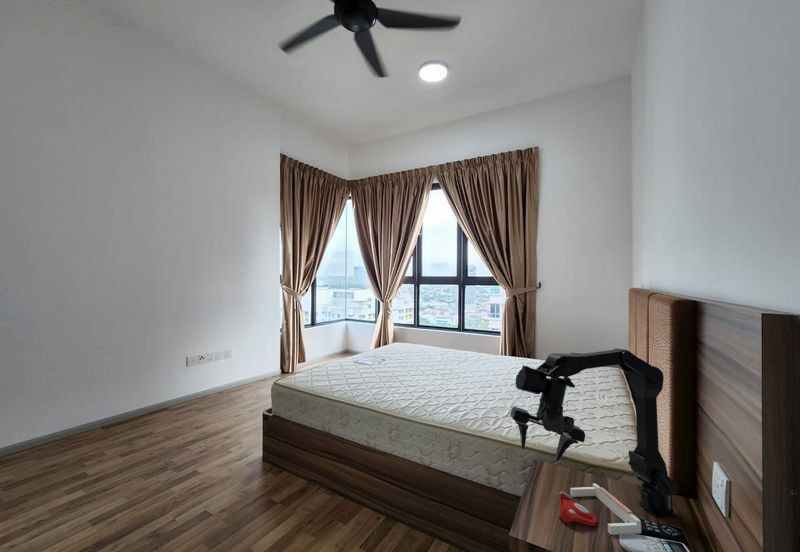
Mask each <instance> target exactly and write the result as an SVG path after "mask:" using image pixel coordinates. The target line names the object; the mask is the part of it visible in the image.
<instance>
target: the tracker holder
mask: <svg viewBox="0 0 800 552" xmlns="http://www.w3.org/2000/svg"><path fill="white" fill-rule="evenodd" d="M558 494H559V495H560V496H559V513H558V514H559V515H558V517H559V518H560V519H561V520H562V521H563V522H564V523H565V524H568V523H570V522H578V523H581V524H583V525H587V526H591V527H595V526H596V525H597V521H598V519H597V517H596V516H595V514H594V513H593V512H591V511H590V510H589V509H588V508H587V507H586V506H585V505H583V504H581V503H579V502H576V501H573V500H572V499H573V497H572V496H571V494H568V493H566V492H564V491H559V493H558Z"/></svg>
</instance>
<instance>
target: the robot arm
mask: <svg viewBox="0 0 800 552" xmlns="http://www.w3.org/2000/svg"><path fill="white" fill-rule="evenodd" d="M617 365H618V366H619V368H620V369H621V370H622V371H624V372H625V373H626V374H627V377H628V381H629V385H630V387H631V389H632V391H633V393H634V395H635V396H634V397H635V418H636V419H635V420H636V421H635V423H636V446H635V448H634V449H633V450H628V460H629V461H628V465H629V466H630V469H631V471H632V472H633V473H634V475H635V477H636V478H637V479H638V480H639V481H641V489H640V496H641V498H640V499H641V501H640V500H639V501H638V504H639V505H640V506H641V507H643V508H644V509H646V510H647V511H648V512H649V513H651V514H652V515H653V516H654V517H658V518H659V517H662V518H663V517H678V516H679V512H677V511H675V510H674V503H673V495H678V492H679V488H680V487H679V485H678V484H677V483H676V482H675V481H674V480H673V479H671V477H670V476H669V475H668V469H667V465H666V462H665V460H664V458H663V456H662V454H661V452H660V450H659V449H660V448H659V428H658V427H659V426H658V425H659V424H658V422H659V421H658V403H657V402H658V399H657V398H658V397H659V395H660V394H661V392H662V391H663V388H664V387H663V386H664V380H665V379H664V372H663V371H662V370H661V369H660V368H659V367H658V366H655V365H654V366H653V365H651V364H650V363H649V362H647V361H645V360H644V359H642V358H640V357H638V356H637V355H635V354H634V353H632V352H631V351H630V350H627V349H623V348H614V349H609V350H600V351H595V352H594V351H593V352H588V353H581V354H580V353H579V354H573V353H572V354H571V353H561V352H560V353H558V352H557V353H556V352H555V353H549V355H548V356H547V357H546V360H545V361H544V362H543V363H541V364H540V365H538V367H536V368H532V367H530V366H527V365H524V364H523V365H522V367H521V369H520V370H519V371H518V373H517V374H516V377H515V387H516V389H517V390H519V391H524V392H527V393H530V394H534V395H540V394H541V395H540V397H539V400H538V401H539V404H538V409H537V411H536V413H535V415H533V414H530V413H529V411H528V410H526V409H525V408H524V409H523V408H521V407H517V406H513V407H511V410H510V417H511V419H512V420H513V421H514V422H515V423H516V425H517V426H518V429H519V435H520V436H519V437H520V444H521V445H520V446H521V450H523V451H524V450H525V447H526V446H525V445H526V441H527V434H528V433H527V432H528V429H529V425H528V423H529V422H530V423H533V424H537V425H539V426H542V427H543V429H544V430H545V431H547V432H551V433H552V432H553V433H555V434H557V435H560V436H559V440H558V444H557V447H556V452H555V461H556V462H559V461H560V460H561V458H562V456H563V455H564V454H565V452H566V450H567V449H568V448H569V447H570V446H572V445H573V444H577V445H578V444H579V442H580V443H585V439H586V432H585V431H584V430H583V429H582V428H581V427H579V426H577V425H576V424H575V419H574V418H573V417H571V416H568V415H566V416H565V415H564V414H563V413H564V406H563V405H564V399H565V395H566V391H567V388H568V387H569V388H573V389H574V388H575V387H576V385H575V384H574V382H573V381H572V380H571V379H572V378H570V377H573V376H575V375H578V374H579V373H580V372H582V371H585V370H588V369H589V370H590V369H596V368H602V367H603V368H604V367H611V366H617Z"/></svg>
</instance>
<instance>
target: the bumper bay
mask: <svg viewBox="0 0 800 552" xmlns="http://www.w3.org/2000/svg"><path fill="white" fill-rule="evenodd" d="M569 490H570V496H571V497H572V498H573V497H574V498H575V497H596V498H597V499H598V501H599V500H600V502H601V503H602V504H604V505H605V506H606V507H607V508H608V509H609V510H611V512H613V514H615V515H616V516H617V517H619V518H620V519H621V520H622V521H623V522H616V523H607V533H608V534H609V535H615V536H616V535H634V534H642V522H641V519H639V518H638V517H637V516H636V515H635V514H633V511H632V510H631V509H629V508H628V507H627V506H626V505H624V504H623V502H621V501H619V500H618V499H617V498H616V497H614V495H612V494H611V493H610V492H608V491H607V490H606V489H605V488H604V487H602V486H601V487H600V486H599V485H598V484H597V483H594V482H593V483H592V486H587V487H583V486H582V487H570V488H569ZM628 521H629V522H628Z"/></svg>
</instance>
